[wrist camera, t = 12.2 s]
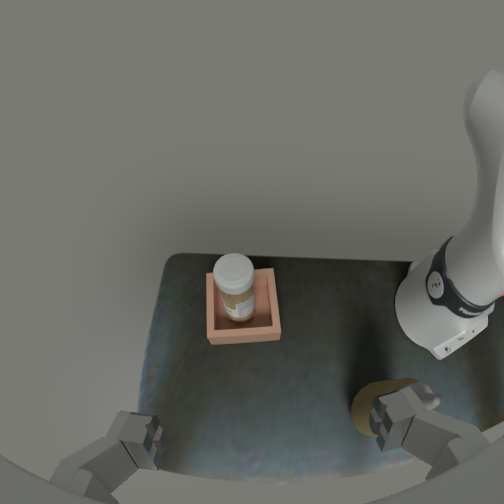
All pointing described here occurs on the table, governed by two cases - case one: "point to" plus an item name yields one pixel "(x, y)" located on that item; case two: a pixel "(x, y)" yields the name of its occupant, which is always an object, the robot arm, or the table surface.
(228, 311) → the sprinkles bottle
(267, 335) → the terracotta socket
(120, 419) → the robot arm
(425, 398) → the squeeze bottle
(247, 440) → the table surface
